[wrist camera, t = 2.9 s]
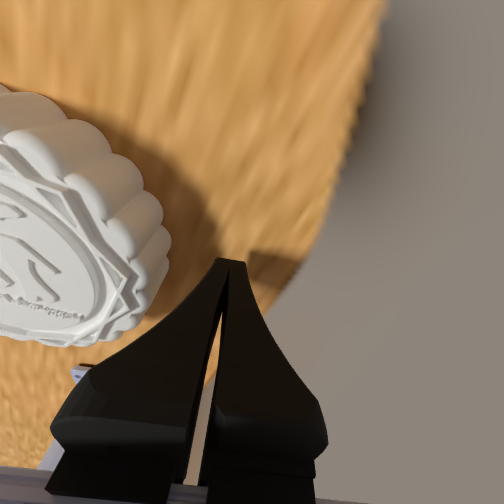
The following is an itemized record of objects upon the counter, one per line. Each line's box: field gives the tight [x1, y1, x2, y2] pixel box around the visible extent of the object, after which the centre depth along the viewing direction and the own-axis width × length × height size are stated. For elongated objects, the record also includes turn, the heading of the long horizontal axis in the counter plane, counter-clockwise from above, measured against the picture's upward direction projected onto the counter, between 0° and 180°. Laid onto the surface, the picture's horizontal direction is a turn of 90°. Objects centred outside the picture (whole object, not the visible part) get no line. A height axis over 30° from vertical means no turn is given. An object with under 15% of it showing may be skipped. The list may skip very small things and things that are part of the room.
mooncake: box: [0, 84, 171, 348], centre depth 11 cm, size 12×12×4 cm
